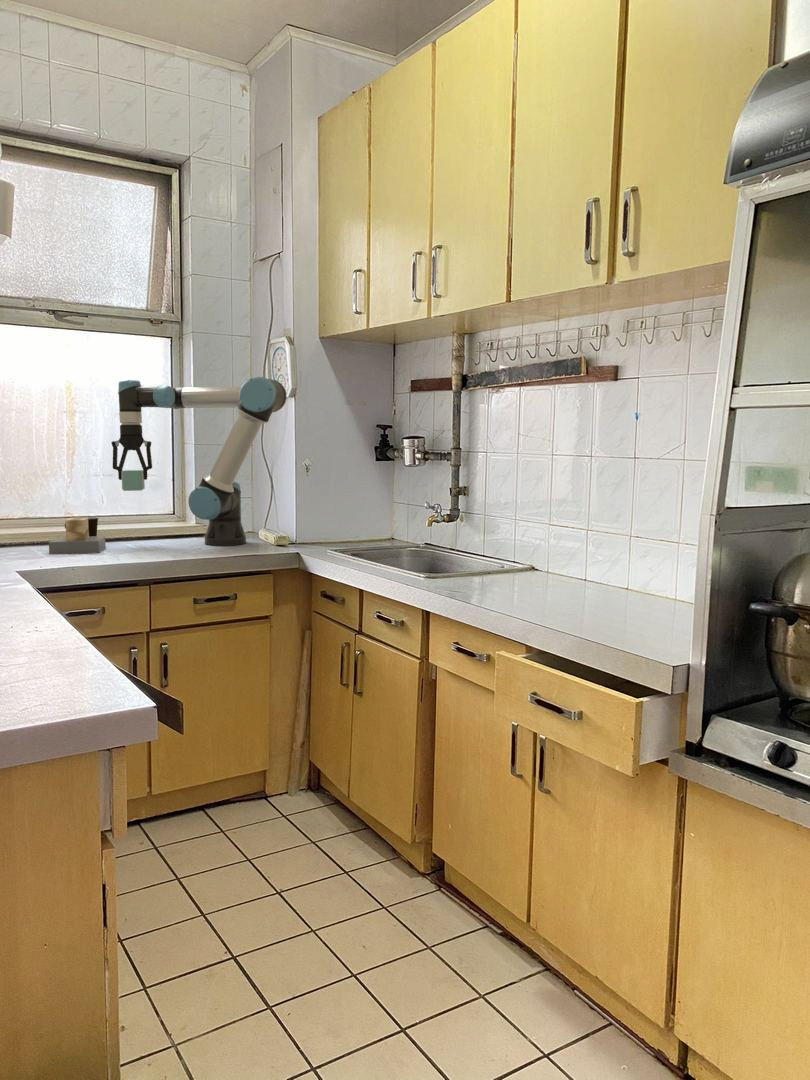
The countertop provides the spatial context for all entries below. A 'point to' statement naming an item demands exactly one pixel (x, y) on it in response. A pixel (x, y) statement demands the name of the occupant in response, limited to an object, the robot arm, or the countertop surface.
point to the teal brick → (132, 480)
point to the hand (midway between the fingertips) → (133, 488)
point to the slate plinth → (77, 545)
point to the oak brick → (77, 529)
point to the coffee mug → (91, 525)
